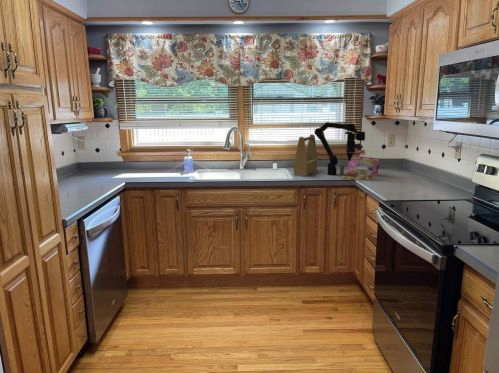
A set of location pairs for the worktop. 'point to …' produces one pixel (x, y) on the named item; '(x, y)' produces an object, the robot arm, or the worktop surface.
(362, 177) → the board
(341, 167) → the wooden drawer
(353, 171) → the block
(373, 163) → the gum box
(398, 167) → the worktop surface
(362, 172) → the tunnel
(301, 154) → the caddy
